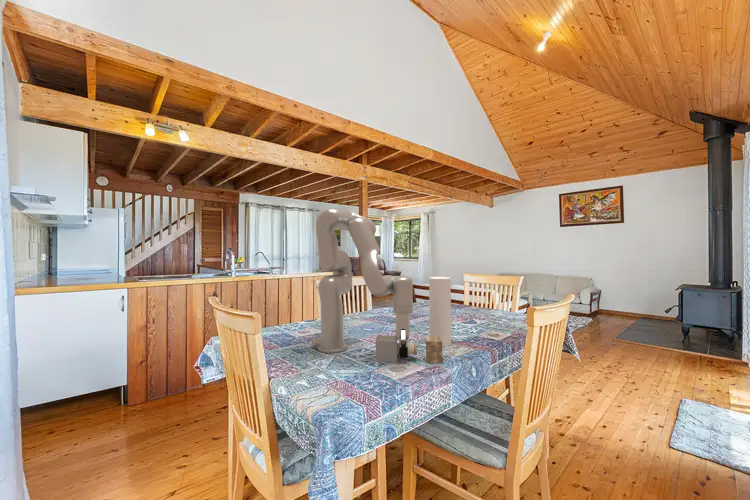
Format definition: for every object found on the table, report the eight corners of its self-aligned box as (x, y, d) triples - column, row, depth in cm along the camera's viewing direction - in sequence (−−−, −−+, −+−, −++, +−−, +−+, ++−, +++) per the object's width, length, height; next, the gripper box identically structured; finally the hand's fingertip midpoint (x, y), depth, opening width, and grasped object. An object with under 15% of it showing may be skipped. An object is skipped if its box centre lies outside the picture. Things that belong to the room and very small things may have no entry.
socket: (427, 362, 122) (427, 341, 122) (426, 356, 129) (426, 336, 129) (442, 362, 122) (442, 341, 121) (440, 356, 128) (440, 336, 128)
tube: (377, 356, 125) (377, 344, 125) (378, 352, 129) (378, 340, 129) (416, 356, 124) (416, 344, 123) (416, 352, 128) (416, 341, 128)
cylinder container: (449, 340, 150) (449, 275, 150) (452, 346, 141) (451, 277, 140) (428, 340, 151) (428, 275, 150) (430, 346, 142) (429, 277, 141)
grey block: (375, 361, 124) (375, 340, 124) (377, 355, 131) (377, 335, 131) (396, 362, 123) (396, 341, 123) (397, 355, 130) (397, 335, 130)
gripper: (393, 304, 135) (394, 346, 135) (392, 313, 118) (393, 361, 118) (412, 304, 134) (412, 347, 135) (413, 313, 117) (414, 362, 117)
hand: (403, 353), depth 126 cm, fingers open, 7 cm apart
